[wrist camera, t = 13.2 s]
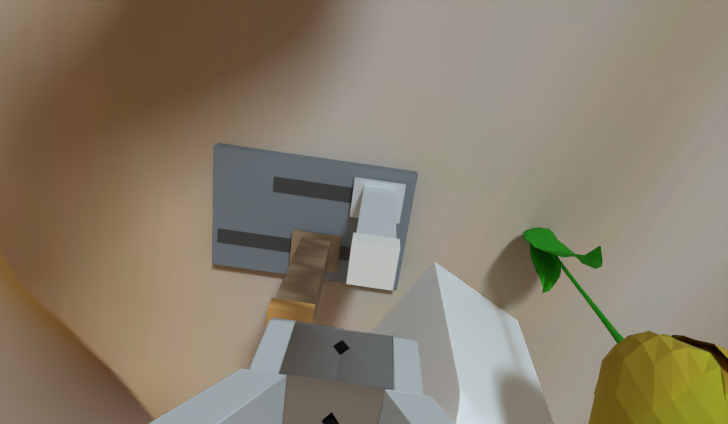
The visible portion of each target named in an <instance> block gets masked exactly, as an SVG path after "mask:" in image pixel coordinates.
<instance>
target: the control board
mask: <svg viewBox="0 0 728 424" xmlns="http://www.w3.org/2000/svg"><path fill="white" fill-rule="evenodd" d="M355 177H359V178H366V179H373V180H380V181H387V182H394V183H401V184H406V188H405V194H404V200H403V206H402V211H401V217H400V223H399V224H397V223H396V237H397V239H400V253H399V259H398V264H397V270H396V275H395V281H394V286H393V290H397V285H398V279H399V274H400V268H401V263H402V257H403V252H404V246H405V241H406V235H407V230H408V224H409V219H410V214H411V208H412V203H413V197H414V192H415V186H416V181H417V172H414V171H407V170H400V169H393V168H386V167H379V166H372V165H365V164H358V163H351V162H344V161H337V160H330V159H323V158H316V157H309V156H302V155H295V154H288V153H282V152H275V151H268V150H261V149H254V148H247V147H240V146H233V145H226V144H219V143H218V144H217V145H215V146H214V194H213V258H212V264H217V265H224V266H231V267H238V268H245V269H252V270H259V271H266V272H273V273H279V274H286V273H287V270H288V268H289V265H290V253H291V241H292V231H293V229H295V230H302V231H309V232H316V233H323V234H330V235H337V236H341V244H340V252H339V260H338V268H337V273H333V272H326V276H325V279H324V280H328V281H335V282H342V283H346V281H347V274H348V267H349V259H350V252H351V245H352V238H353V233H356V232H357V226H358V220H359V218H355V217H350V210H351V203H352V195H353V188H354V180H355Z"/></svg>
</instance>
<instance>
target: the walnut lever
mask: <svg viewBox="0 0 728 424" xmlns="http://www.w3.org/2000/svg"><path fill="white" fill-rule="evenodd" d="M340 244H341V236H337V235H330V234H323V233H316V232H309V231H302V230H295V229H293V231H292V241H291V253H290V265H289V268H288V270H287V273H286V275H285V277H284V280H283V282H282V284H281V287H280V289H279V291H278V294H277V296H276V298H272V299H271V302H270V304H269V306H268V308H267V318H266V326H267V324H268V321H269V320H270V319H271V318H272V317H273V318H280V319H287V320H294V321H296V322H297V321H300V322H306V323H312V324H313V321H314V317H315V314H316V310H317V306H318V302H319V298H320V295H321V291H322V287H323V283H324V279H325V276H326V272H333V273H337V268H338V260H339V252H340Z"/></svg>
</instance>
